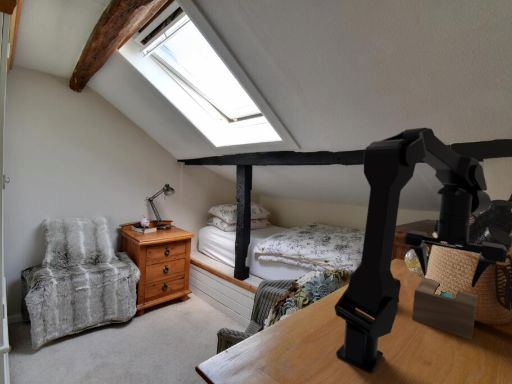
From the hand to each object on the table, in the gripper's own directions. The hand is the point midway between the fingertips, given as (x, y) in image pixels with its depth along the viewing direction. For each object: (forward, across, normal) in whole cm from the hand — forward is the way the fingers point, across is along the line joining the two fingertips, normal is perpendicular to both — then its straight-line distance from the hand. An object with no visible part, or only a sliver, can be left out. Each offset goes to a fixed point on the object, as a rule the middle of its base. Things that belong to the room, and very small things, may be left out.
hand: (447, 280), depth 64 cm
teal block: (+9, 0, 0) cm, 9 cm away
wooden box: (+10, 0, 0) cm, 10 cm away
